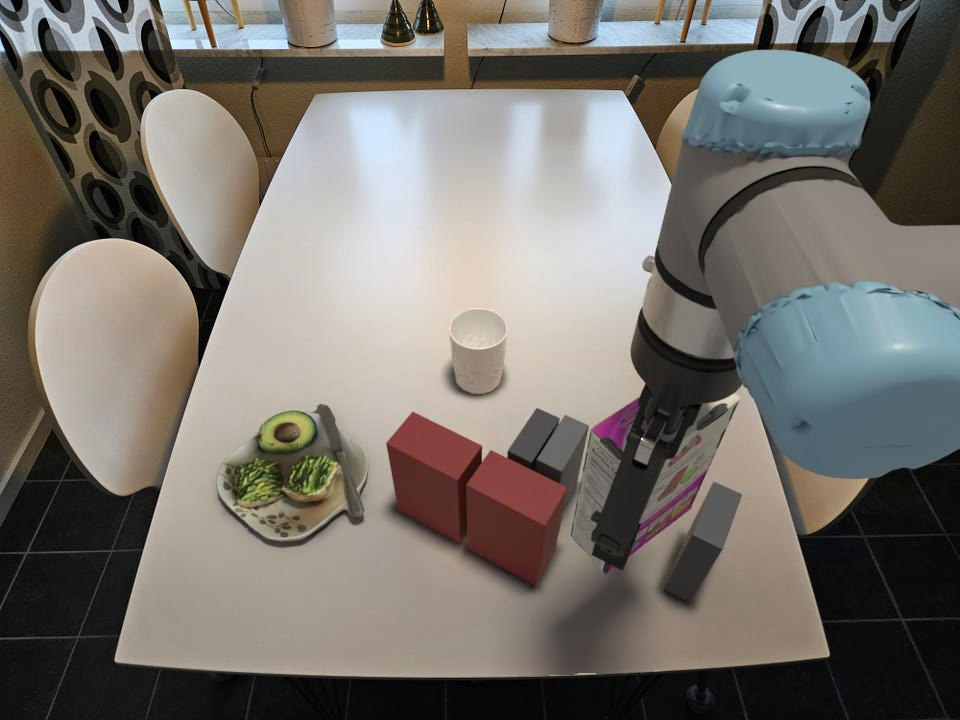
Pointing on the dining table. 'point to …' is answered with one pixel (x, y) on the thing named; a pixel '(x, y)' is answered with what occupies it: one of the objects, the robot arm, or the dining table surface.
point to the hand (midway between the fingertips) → (637, 500)
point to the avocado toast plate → (294, 475)
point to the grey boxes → (560, 460)
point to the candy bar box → (673, 482)
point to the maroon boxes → (476, 496)
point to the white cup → (478, 349)
